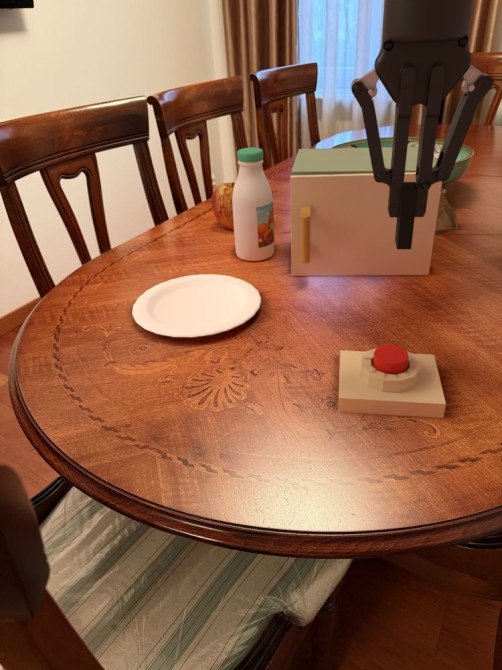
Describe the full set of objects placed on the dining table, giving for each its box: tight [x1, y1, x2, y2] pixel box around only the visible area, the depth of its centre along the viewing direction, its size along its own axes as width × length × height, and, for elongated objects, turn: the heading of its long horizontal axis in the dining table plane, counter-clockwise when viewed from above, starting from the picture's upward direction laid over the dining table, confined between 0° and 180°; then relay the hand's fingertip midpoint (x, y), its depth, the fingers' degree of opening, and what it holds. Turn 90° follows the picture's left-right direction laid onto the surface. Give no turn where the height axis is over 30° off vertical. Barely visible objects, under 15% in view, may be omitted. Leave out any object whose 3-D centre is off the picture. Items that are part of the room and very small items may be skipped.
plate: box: [131, 273, 262, 339], centre depth 84 cm, size 21×21×2 cm
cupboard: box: [290, 146, 437, 176], centre depth 96 cm, size 16×24×18 cm, turn 81°
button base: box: [337, 347, 447, 419], centre depth 64 cm, size 12×10×4 cm
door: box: [289, 172, 443, 277], centre depth 86 cm, size 6×24×18 cm, turn 85°
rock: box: [434, 191, 459, 236], centre depth 105 cm, size 11×9×10 cm
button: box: [373, 344, 409, 375], centre depth 63 cm, size 4×4×2 cm
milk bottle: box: [232, 147, 275, 262], centre depth 97 cm, size 8×8×20 cm
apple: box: [211, 181, 236, 231], centre depth 114 cm, size 9×9×10 cm
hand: (402, 244), depth 57 cm, fingers closed
